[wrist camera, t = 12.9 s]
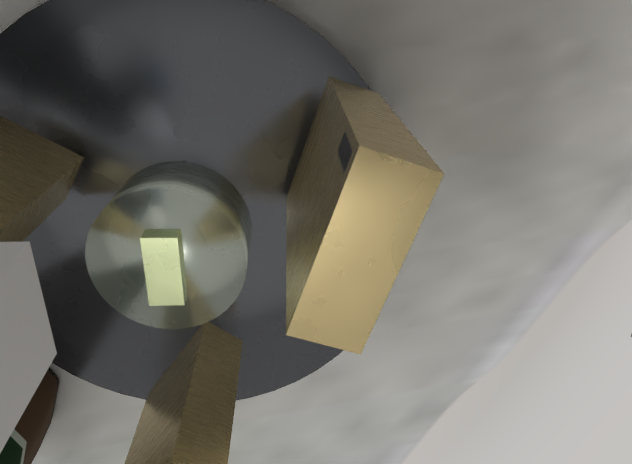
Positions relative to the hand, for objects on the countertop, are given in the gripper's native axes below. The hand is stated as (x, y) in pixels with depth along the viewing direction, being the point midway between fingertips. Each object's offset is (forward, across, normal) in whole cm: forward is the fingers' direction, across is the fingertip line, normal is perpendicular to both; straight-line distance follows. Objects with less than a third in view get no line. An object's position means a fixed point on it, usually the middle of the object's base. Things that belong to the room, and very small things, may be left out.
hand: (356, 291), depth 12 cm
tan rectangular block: (+13, -6, -12) cm, 19 cm away
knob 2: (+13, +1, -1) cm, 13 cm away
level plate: (+14, -6, -5) cm, 16 cm away
